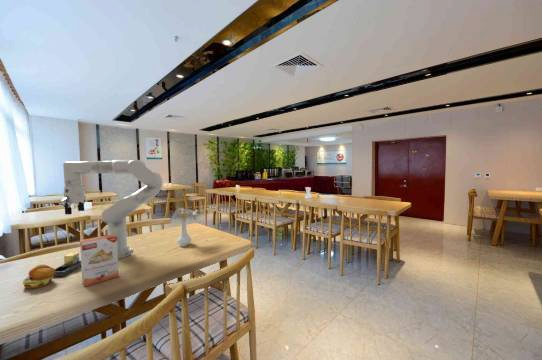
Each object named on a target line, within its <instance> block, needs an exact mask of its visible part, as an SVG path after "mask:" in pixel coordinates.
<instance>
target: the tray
mask: <svg viewBox="0 0 542 360" xmlns="http://www.w3.org/2000/svg"><path fill="white" fill-rule="evenodd" d="M79 261H80V262H79V263H77V264H75V265H72V266H65V265H64V264H61V265H59V266H58V267H55V268H54V269H55V275H54V276H53V278H55V277H56V278H61V277H63V278H64V277H66V276H67V275H69V274H71V273H73V272H74V271H76V270H77V269H80V268H81V259H79Z"/></svg>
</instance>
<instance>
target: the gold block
mask: <svg viewBox="0 0 542 360" xmlns="http://www.w3.org/2000/svg"><path fill="white" fill-rule="evenodd" d="M63 260H64V265H65V266H72V265H75V264H77V263H79V262H80V252H69V253H67V254H65V255H64V256H63Z"/></svg>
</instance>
